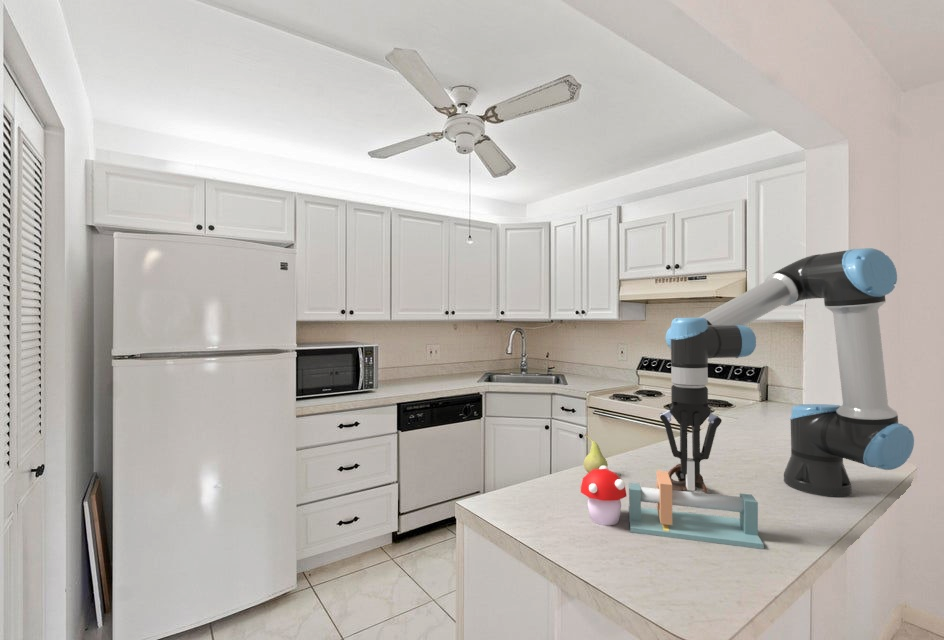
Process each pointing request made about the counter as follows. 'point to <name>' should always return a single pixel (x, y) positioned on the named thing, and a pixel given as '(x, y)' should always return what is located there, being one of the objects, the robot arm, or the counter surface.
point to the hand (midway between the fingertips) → (690, 488)
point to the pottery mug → (684, 480)
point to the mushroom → (603, 495)
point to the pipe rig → (697, 517)
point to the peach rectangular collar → (664, 497)
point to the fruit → (594, 458)
